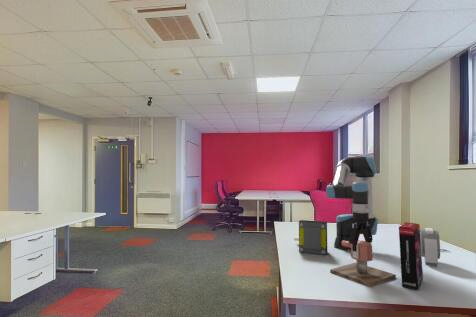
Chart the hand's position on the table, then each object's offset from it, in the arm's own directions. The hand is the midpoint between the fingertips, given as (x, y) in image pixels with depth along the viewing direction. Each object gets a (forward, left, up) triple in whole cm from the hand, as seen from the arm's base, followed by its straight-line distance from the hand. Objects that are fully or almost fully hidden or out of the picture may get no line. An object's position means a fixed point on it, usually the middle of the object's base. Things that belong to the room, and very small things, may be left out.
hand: (361, 256), depth 136 cm
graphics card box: (+19, +10, -10) cm, 24 cm away
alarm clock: (+10, +52, -10) cm, 54 cm away
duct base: (0, 0, -9) cm, 9 cm away
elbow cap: (-3, 0, -1) cm, 3 cm away
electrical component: (-42, +11, -10) cm, 45 cm away
